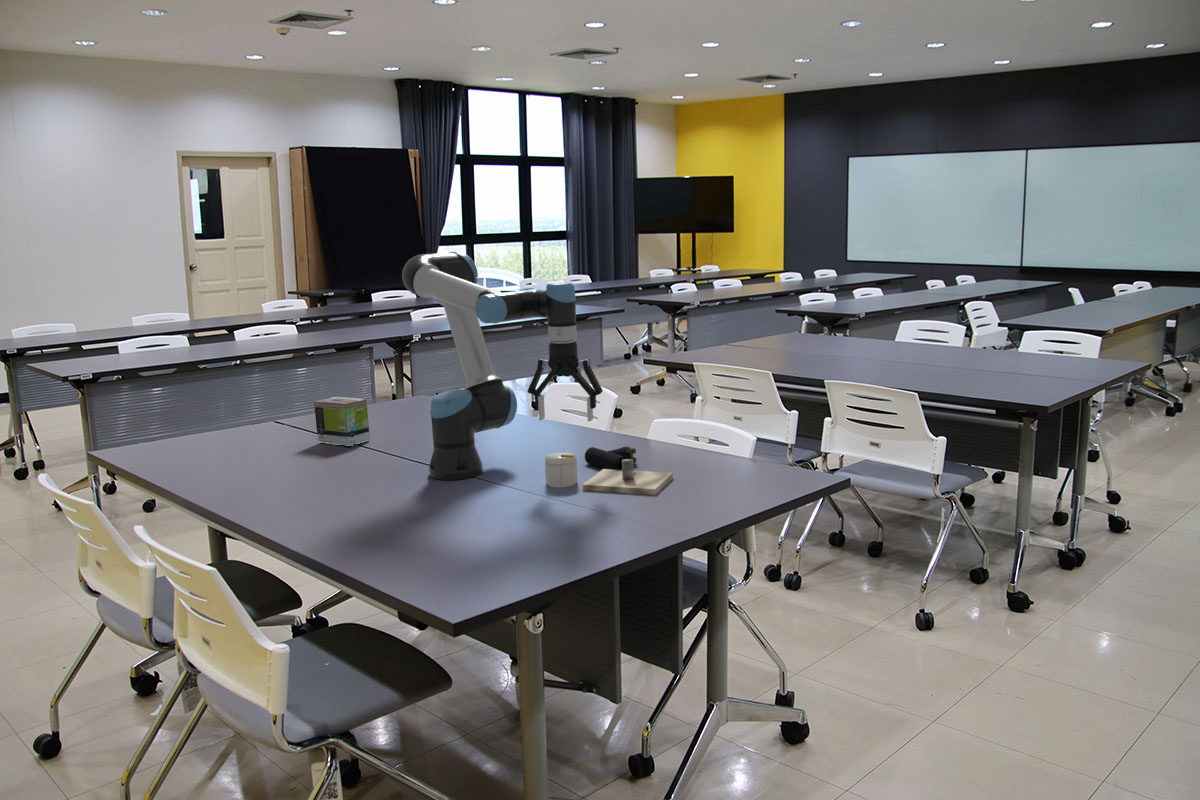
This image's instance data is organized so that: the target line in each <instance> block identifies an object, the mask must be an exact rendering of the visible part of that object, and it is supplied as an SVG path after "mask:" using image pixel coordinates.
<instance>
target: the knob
mask: <svg viewBox="0 0 1200 800" xmlns="http://www.w3.org/2000/svg"><path fill="white" fill-rule="evenodd" d="M544 461H545V462H544V469H545V471H544V473H545V484H546V485H547V486H548V487H551V488H566V487H567V488H568V487H572V486H575V485H577V484H578V482H579V481H578V462H577V455H576V453H572V452H566V451H565V452H554V453H553V452H552V453H549V454H547V455H544Z"/></svg>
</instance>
